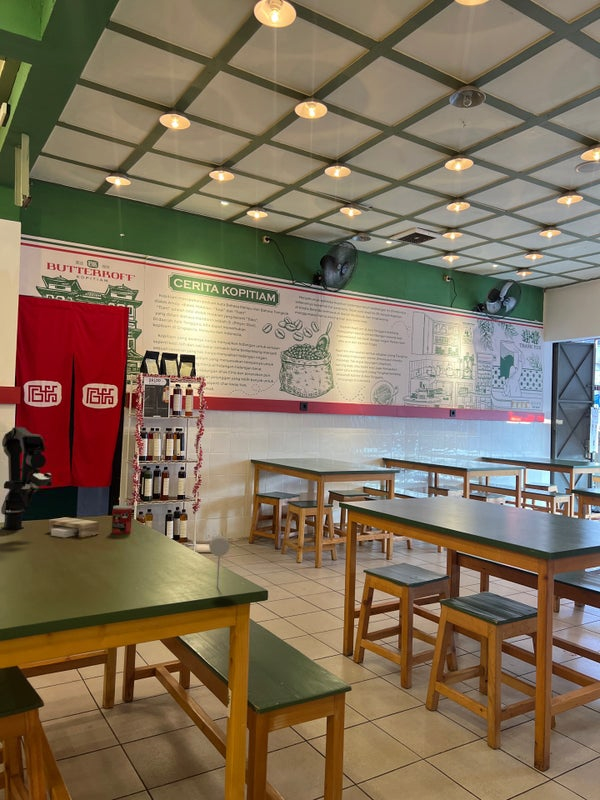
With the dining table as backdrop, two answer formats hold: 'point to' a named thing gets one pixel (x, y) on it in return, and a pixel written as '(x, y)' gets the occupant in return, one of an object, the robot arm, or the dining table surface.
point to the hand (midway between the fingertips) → (27, 505)
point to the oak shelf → (76, 526)
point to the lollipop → (219, 549)
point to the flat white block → (64, 531)
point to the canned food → (121, 519)
